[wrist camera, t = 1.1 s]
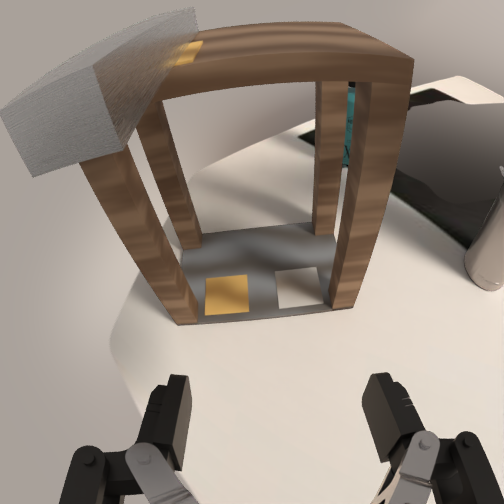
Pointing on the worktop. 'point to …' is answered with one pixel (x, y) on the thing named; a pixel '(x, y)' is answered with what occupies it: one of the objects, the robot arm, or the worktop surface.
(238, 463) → the worktop surface
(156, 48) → the gray rectangular block
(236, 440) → the worktop surface
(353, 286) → the switch shelf
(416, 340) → the worktop surface
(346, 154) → the beverage bottle
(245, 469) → the worktop surface
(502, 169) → the cookie jar
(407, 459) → the robot arm
